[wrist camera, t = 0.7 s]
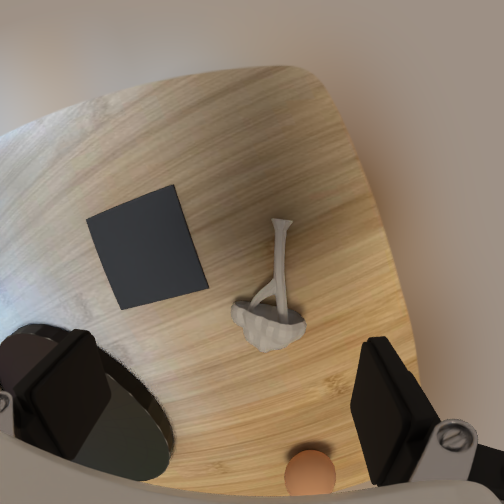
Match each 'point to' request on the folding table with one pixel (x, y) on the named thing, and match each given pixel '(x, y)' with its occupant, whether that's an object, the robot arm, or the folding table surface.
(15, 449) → the robot arm
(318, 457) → the egg
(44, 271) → the folding table surface
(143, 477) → the disc
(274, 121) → the folding table surface
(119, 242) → the coaster
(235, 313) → the mushroom
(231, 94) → the folding table surface
